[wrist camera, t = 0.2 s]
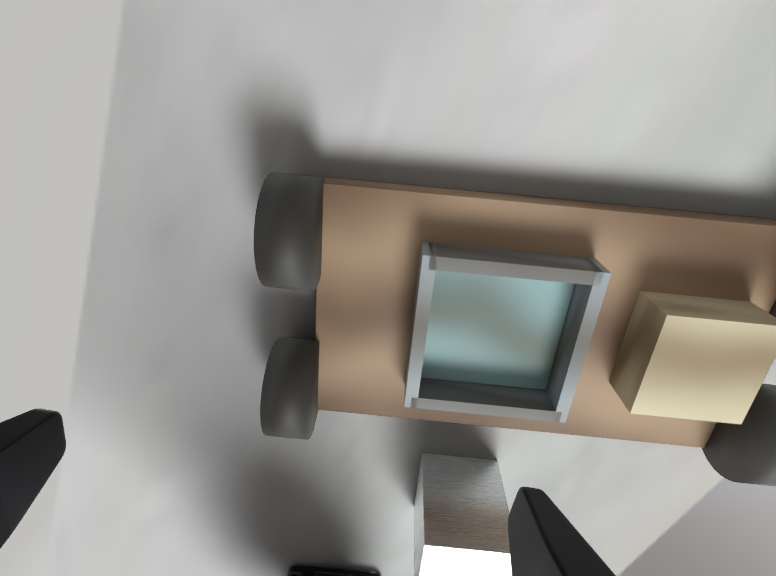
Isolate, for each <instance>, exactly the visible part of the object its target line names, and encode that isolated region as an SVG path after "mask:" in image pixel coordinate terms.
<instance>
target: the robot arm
mask: <svg viewBox="0 0 776 576" xmlns="http://www.w3.org/2000/svg"><path fill="white" fill-rule="evenodd" d="M65 449H66V440H65V433H64V427H63V421H62V416H61V415H60V413H59V412H57V411H52V410H45V409H33V410H30V411H28V412H25V413H23V414H21V415H18V416H16V417H13V418H11V419H9V420H6V421H3V422H1V423H0V548H1V547H2V546H3V544H4V543H5V542H6V540H7V539H8V538H9V536H10V535H11V534H12V532H13V531H14V530H15V528H16V527H17V525H18V524H19V522H20V521H21V519H22V518H23V516H24V515H25V513H26V512H27V510H28V509H29V507H30V506H31V504H32V502H33V501H34V499H35V498H36V496H37V495H38V493H39V492H40V490H41V489H42V487H43V486H44V484H45V483H46V481H47V480H48V478H49V477H50V475H51V474H52V472H53V470H54V469H55V468H56V466H57V464H58V463H59V461H60V460H61V458H62V456H63V454H64V452H65ZM508 537H509V549H510V560H511V571H512V576H616V575H615V574H614V573H613V572H612V571H611V570H610V568H609V567H608V566H607V565H606V564H605V563H604V561H603V560H602V559H601V558H600V557H599V556H598V554H597V553H596V552H595V551H594V550H593V549H592V547H591V546H590V545H589V544H588V543H587V542H586V540H585V539H584V538H583V537H582V536H581V535H580V533H579V532H578V531H577V530H576V529H575V527H574V526H573V525H572V524H571V523H570V522H569V520H568V519H567V518H566V517H565V516H564V515H563V513H562V512H561V511H560V510H559V509H558V508H557V506H556V505H555V504H554V503H553V502H552V501H551V499H550V498H549V497H548V496H547V495H546V494H545V493H544V492H543V491H542V490H540V489H536V488H530V487H521V488H520V489H519V490H518V492H517V495H516V498H515V500H514V503H513V506H512V508H511V511H510V514H509V517H508ZM287 576H379V575H377V574H369V573H359V572H349V571H340V570H330V569H320V568H310V567H301V566H292V567H290V568H289V571H288V575H287Z"/></svg>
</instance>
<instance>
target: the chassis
mask: <svg viewBox="0 0 776 576" xmlns="http://www.w3.org/2000/svg"><path fill="white" fill-rule="evenodd" d="M254 257H255V265H256V270H257V274H258V277H259V280H260V281H261V283H262V284H263V285H264V286H268V287H278V288H288V289H299V290H309V291H314V290H315V289H316V288H317V291H316V337H315V340H310V339H300V338H289V337H279V338H278V339H277V340H276V341H275V343H274V345H273V347H272V350H271V352H270V355H269V358H268V362H267V365H266V370H265V374H264V380H263V386H262V394H261V406H260V418H261V427H262V431H263V433H264V434H265V435H268V436H278V437H288V438H298V439H309V438H310V437H311V435H312V432H313V429H314V426H315V422H316V418H317V413H318V409H319V410H329V411H339V412H349V413H359V414H369V415H379V416H389V417H399V418H409V419H419V420H430V421H440V422H450V423H460V424H470V425H480V426H490V427H500V428H510V429H520V430H530V431H540V432H551V433H561V434H571V435H581V436H591V437H601V438H611V439H621V440H631V441H641V442H651V443H661V444H671V445H682V446H692V447H702V450H703V452H704V454H705V456H706V458H707V460H708V461H709V463H710V464H711V466H712V467H713V468H714V469H715V470H716V471H717V472H718V473H719V474H720V475H721V476H723V477H724V478H726V479H728V480H731V481H733V482H739V483H748V484H758V485H769V486H776V385H770V384H762V383H763V381H764V379H765V377H766V375H767V373H768V371H769V369H770V367H771V365H772V363H773V361H774V359H775V357H776V219H767V218H756V217H745V216H735V215H724V214H714V213H703V212H692V211H682V210H671V209H661V208H650V207H639V206H629V205H618V204H607V203H597V202H586V201H576V200H565V199H554V198H544V197H533V196H523V195H512V194H501V193H491V192H480V191H469V190H459V189H448V188H438V187H427V186H416V185H406V184H395V183H385V182H374V181H363V180H353V179H342V178H331V177H324V178H323V177H315V176H304V175H294V174H283V173H271V174H269V175H268V177H267V178H266V180H265V181H264V184H263V186H262V189H261V192H260V195H259V199H258V204H257V209H256V216H255V226H254Z"/></svg>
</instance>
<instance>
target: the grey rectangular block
mask: <svg viewBox="0 0 776 576" xmlns="http://www.w3.org/2000/svg"><path fill="white" fill-rule="evenodd" d="M508 517H509V510H508V505H507V501H506V497H505V492H504V488H503V484H502V479H501V475H500V471H499V466H498V462H497V460H488V459H478V458H468V457H458V456H448V455H438V454H428V453H422V456H421V463H420V469H419V476H418V483H417V489H416V496H415V503H414V576H512V571H511V560H510V549H509V537H508Z"/></svg>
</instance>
